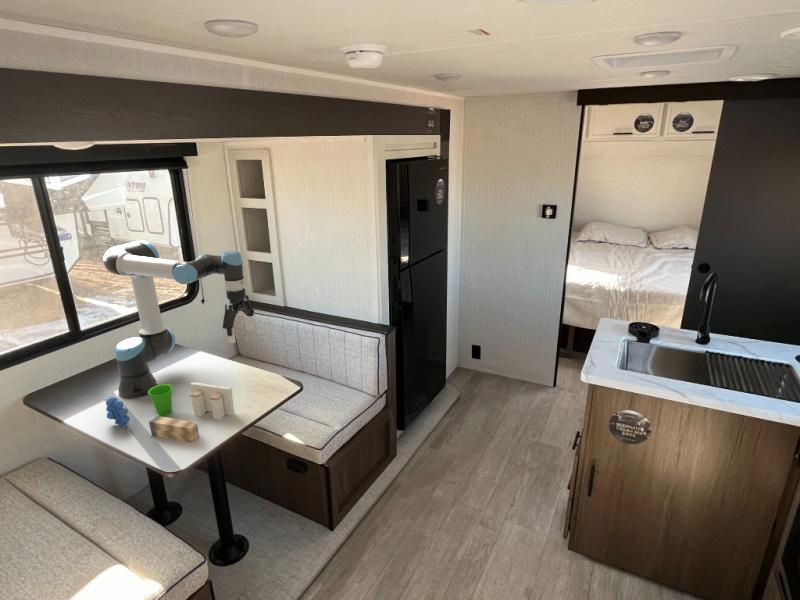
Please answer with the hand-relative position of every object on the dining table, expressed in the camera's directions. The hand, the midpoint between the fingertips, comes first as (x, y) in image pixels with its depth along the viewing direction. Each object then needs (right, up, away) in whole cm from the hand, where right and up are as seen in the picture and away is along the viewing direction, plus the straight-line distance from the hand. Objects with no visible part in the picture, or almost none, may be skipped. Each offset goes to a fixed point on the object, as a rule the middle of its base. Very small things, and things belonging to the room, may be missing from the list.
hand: (241, 336), depth 197 cm
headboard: (-9, -31, -8) cm, 34 cm away
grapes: (-43, -34, -16) cm, 57 cm away
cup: (-29, -31, -8) cm, 43 cm away
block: (-17, -36, -22) cm, 46 cm away
